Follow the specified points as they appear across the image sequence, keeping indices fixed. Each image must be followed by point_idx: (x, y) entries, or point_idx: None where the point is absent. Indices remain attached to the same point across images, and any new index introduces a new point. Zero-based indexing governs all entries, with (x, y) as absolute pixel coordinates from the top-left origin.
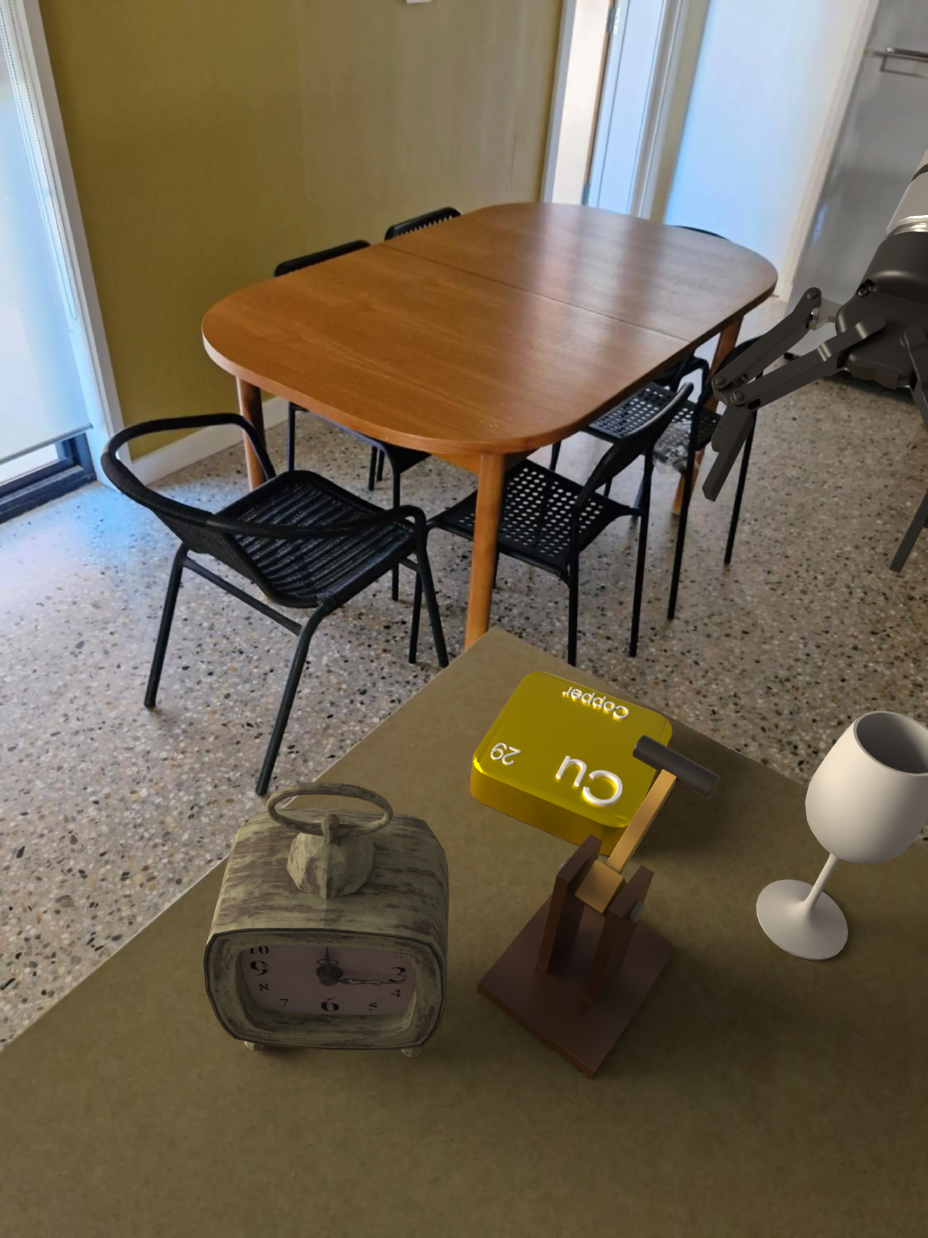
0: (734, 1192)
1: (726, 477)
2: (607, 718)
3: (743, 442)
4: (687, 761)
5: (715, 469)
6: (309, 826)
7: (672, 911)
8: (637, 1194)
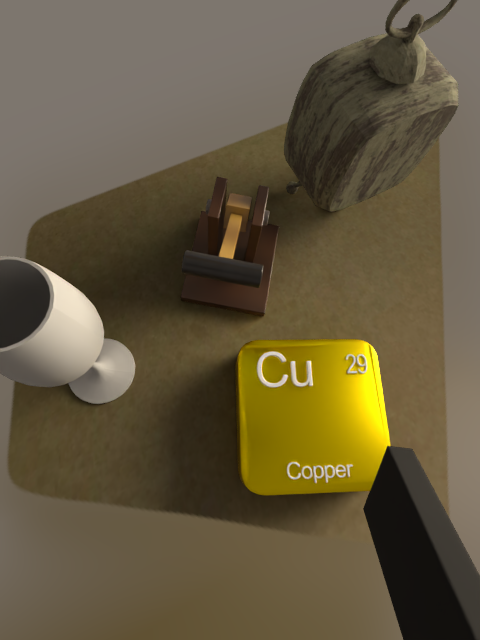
0: (120, 199)
1: (384, 567)
2: (301, 455)
3: None
4: (214, 263)
5: (423, 490)
6: (425, 21)
7: (189, 332)
8: (164, 181)
